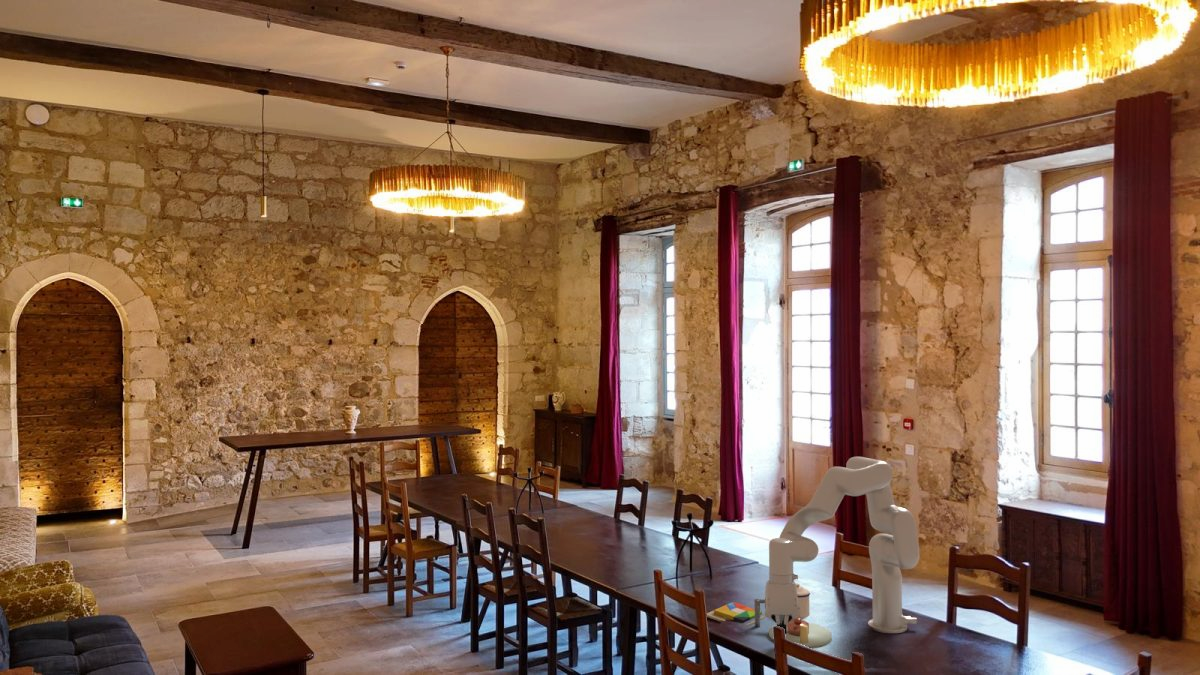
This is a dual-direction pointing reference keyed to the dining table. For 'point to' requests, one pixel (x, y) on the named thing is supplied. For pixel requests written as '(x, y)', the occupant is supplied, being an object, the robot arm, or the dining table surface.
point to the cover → (796, 626)
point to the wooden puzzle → (734, 613)
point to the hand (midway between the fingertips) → (781, 635)
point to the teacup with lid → (803, 601)
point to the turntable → (809, 635)
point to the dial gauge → (757, 611)
